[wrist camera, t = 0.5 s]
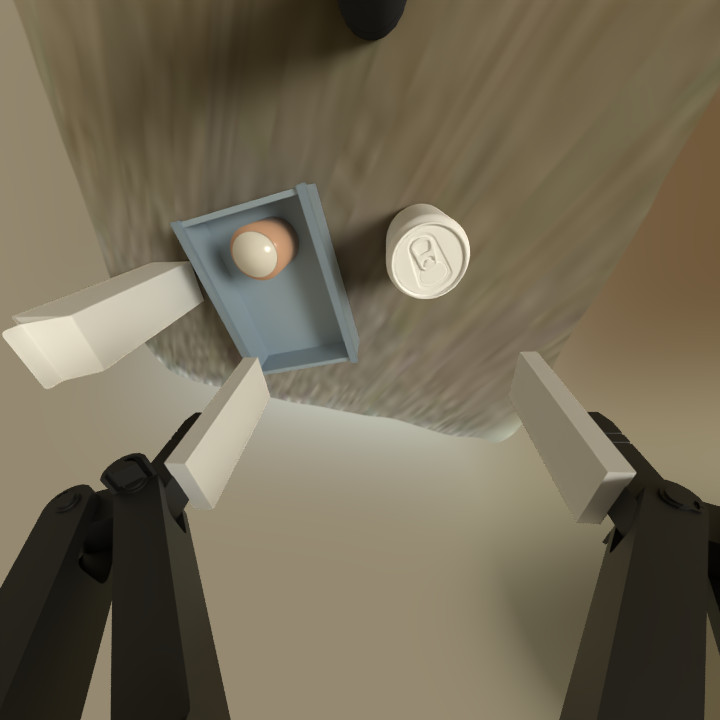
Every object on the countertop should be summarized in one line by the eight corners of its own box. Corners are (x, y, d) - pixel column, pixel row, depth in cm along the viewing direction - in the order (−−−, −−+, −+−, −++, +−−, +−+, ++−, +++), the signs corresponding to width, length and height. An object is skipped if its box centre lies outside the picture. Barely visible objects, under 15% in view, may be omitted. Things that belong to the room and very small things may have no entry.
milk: (190, 260, 41) (34, 330, 23) (205, 301, 45) (78, 391, 26) (150, 262, 42) (-34, 331, 23) (167, 302, 45) (17, 391, 27)
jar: (246, 222, 38) (216, 233, 31) (289, 210, 36) (267, 219, 30) (265, 268, 41) (242, 287, 34) (305, 258, 39) (289, 276, 33)
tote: (198, 216, 38) (169, 223, 33) (316, 181, 35) (304, 182, 30) (267, 358, 50) (254, 379, 44) (361, 341, 46) (357, 362, 41)
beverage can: (401, 280, 41) (406, 316, 31) (375, 224, 37) (371, 243, 27) (458, 253, 38) (484, 282, 28) (436, 189, 34) (457, 197, 24)
